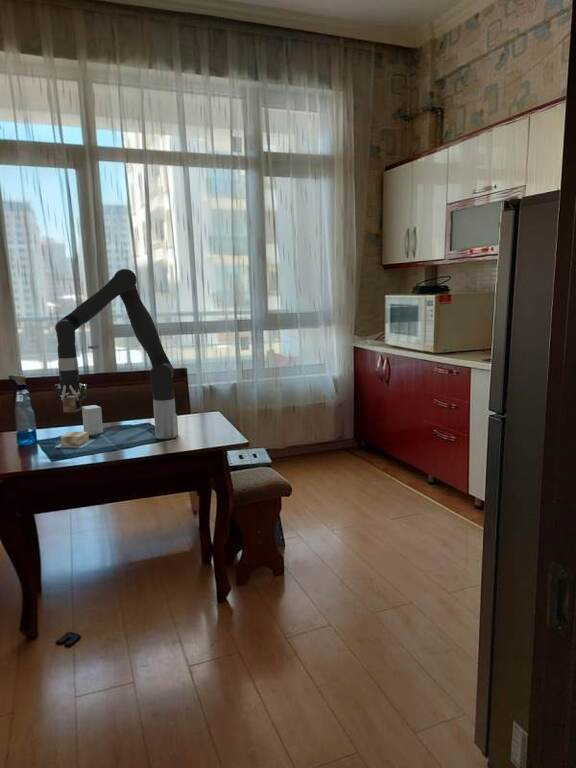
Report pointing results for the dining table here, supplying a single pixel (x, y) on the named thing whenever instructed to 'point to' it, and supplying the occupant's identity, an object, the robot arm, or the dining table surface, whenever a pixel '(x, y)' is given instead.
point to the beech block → (74, 438)
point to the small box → (92, 419)
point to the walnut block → (70, 404)
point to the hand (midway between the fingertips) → (72, 408)
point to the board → (77, 446)
